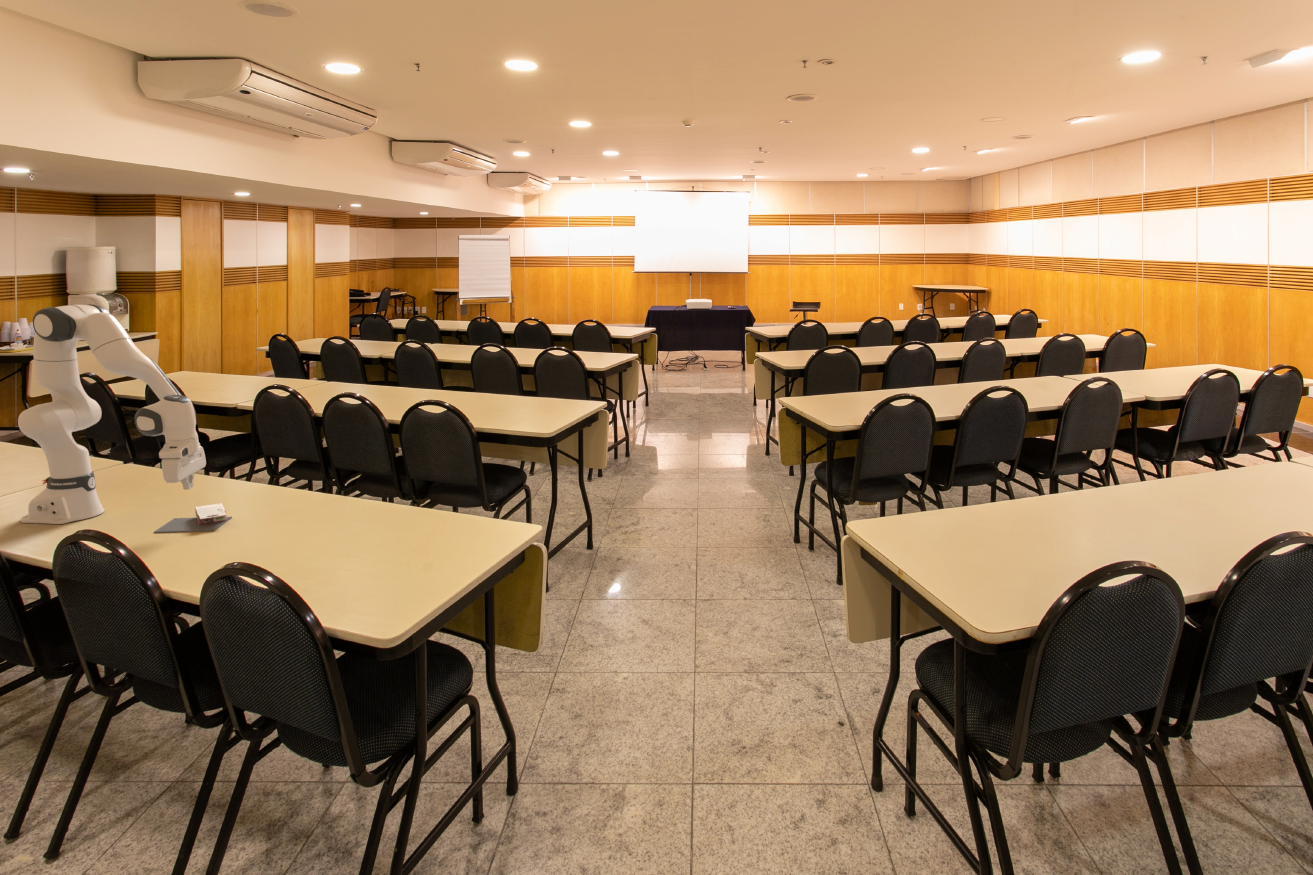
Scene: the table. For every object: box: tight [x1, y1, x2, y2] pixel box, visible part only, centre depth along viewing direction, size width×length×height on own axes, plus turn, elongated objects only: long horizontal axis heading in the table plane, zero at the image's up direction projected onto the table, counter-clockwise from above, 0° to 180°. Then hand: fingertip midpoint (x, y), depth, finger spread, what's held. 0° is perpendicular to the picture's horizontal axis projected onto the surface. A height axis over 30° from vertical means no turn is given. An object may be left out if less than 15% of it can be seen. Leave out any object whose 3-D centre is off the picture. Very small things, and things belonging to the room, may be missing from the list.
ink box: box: [194, 502, 227, 524], centre depth 250 cm, size 4×8×15 cm
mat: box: [153, 516, 233, 534], centre depth 247 cm, size 18×13×1 cm
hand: (188, 488), depth 245 cm, fingers closed
